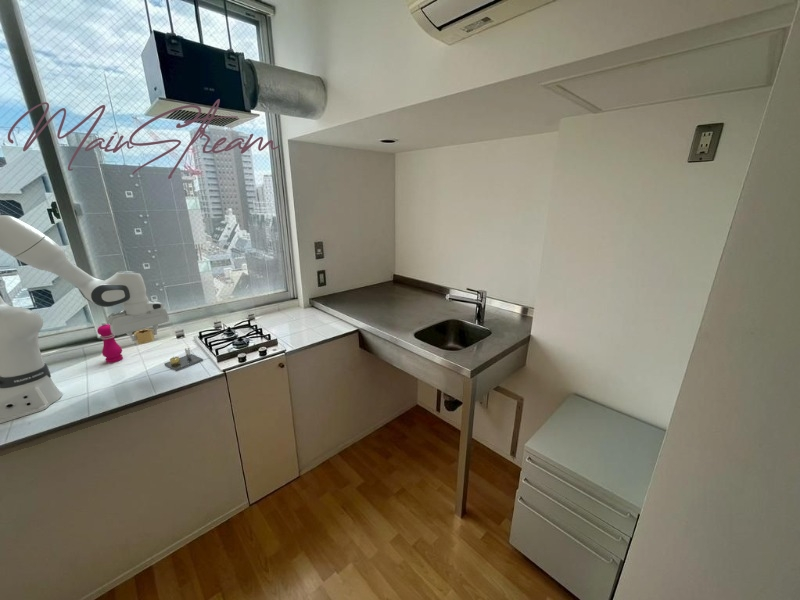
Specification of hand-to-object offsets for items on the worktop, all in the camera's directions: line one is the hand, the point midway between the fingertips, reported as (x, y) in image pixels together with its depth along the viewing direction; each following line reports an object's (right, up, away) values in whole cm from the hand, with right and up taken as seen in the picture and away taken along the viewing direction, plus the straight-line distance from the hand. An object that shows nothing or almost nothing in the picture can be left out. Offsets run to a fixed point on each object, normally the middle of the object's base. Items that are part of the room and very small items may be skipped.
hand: (144, 337), depth 139 cm
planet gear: (0, -2, 0) cm, 2 cm away
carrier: (+8, -14, +13) cm, 21 cm away
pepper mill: (-28, -13, +16) cm, 35 cm away
